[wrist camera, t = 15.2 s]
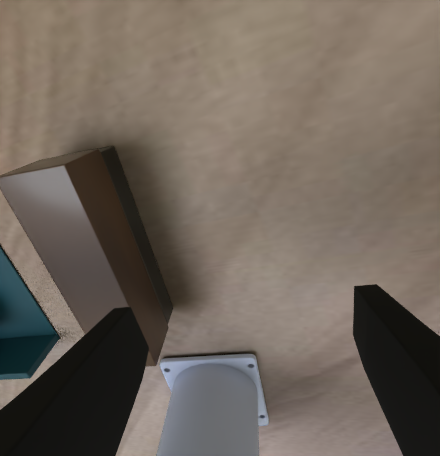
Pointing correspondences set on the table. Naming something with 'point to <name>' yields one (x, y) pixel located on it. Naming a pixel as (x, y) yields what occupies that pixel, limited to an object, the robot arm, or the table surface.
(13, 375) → the pusher tool
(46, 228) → the brown bar
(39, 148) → the table surface
